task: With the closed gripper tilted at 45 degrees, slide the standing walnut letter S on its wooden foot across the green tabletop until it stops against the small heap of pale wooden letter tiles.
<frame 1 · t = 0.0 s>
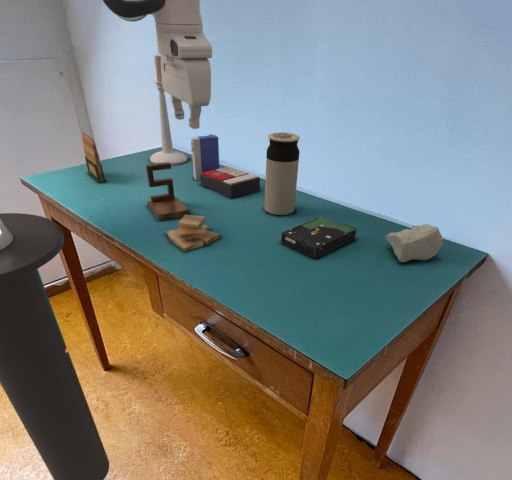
hand: (186, 123, 85), 22 cm above the table, tool pointing down, fingers open, 8 cm apart
travel mug: (279, 210, 106), on the table
walkman: (206, 178, 124), on the table
tile pile: (192, 239, 91), on the table
ammunition clip: (97, 178, 122), on the table
calculator: (229, 188, 118), on the table
disk drive: (318, 242, 92), on the table
decorative stone: (406, 253, 88), on the table
candlestick: (169, 160, 138), on the table
letter S: (168, 211, 103), on the table
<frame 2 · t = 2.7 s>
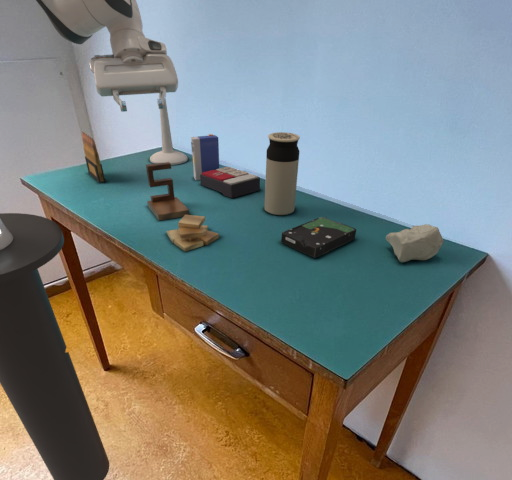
hand: (143, 108, 100), 21 cm above the table, tool tilted 40°, fingers open, 8 cm apart
nothing on the table moved.
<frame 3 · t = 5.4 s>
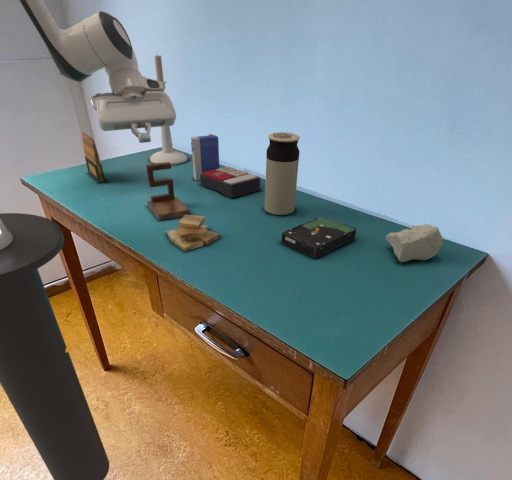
hand: (145, 141, 105), 13 cm above the table, tool tilted 45°, fingers closed
nothing on the table moved.
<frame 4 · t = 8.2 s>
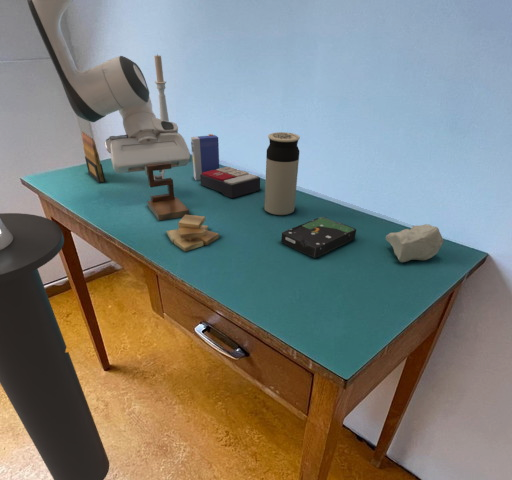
hand: (159, 183, 103), 5 cm above the table, tool tilted 45°, fingers closed, pressing on letter S
letter S: (168, 211, 103), on the table, touching gripper
everything else where it was.
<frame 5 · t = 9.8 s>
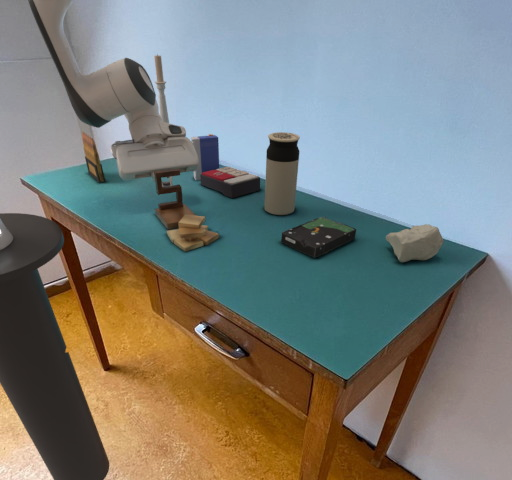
hand: (167, 190, 99), 5 cm above the table, tool tilted 45°, fingers closed, pressing on letter S
letter S: (177, 219, 99), on the table, touching gripper
everything else where it was.
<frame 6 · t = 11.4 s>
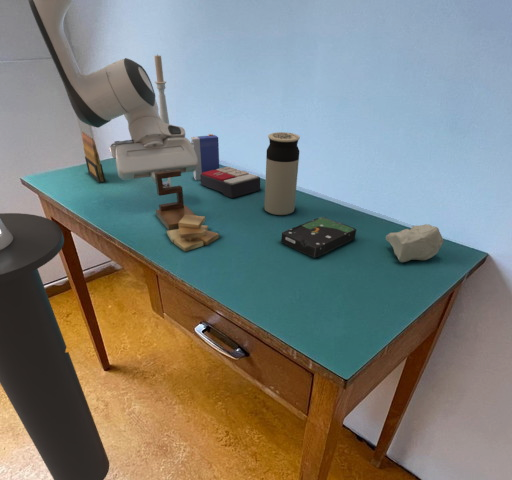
hand: (166, 190, 100), 5 cm above the table, tool tilted 45°, fingers closed
letter S: (177, 220, 99), on the table, touching tile pile
everything else where it was.
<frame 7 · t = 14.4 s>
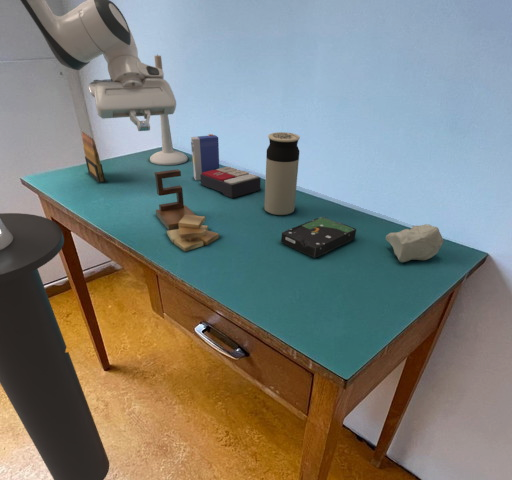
hand: (144, 129, 102), 16 cm above the table, tool tilted 45°, fingers closed
letter S: (177, 220, 99), on the table
everything else where it was.
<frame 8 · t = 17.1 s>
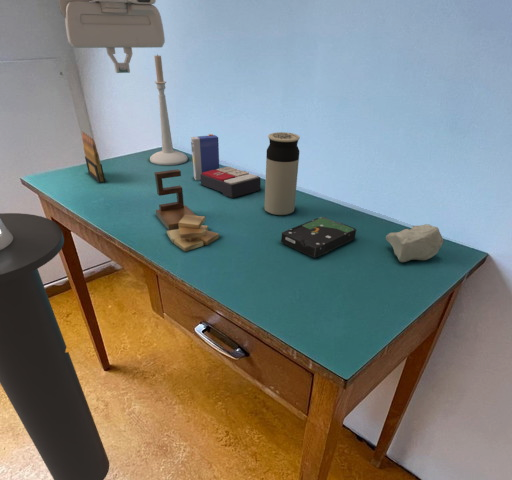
hand: (122, 72, 90), 29 cm above the table, tool pointing down, fingers closed
nothing on the table moved.
at the end: letter S 11.4 cm from the tile pile (horizontally); letter S moved 6.6 cm from its start; letter S tilted 0° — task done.
